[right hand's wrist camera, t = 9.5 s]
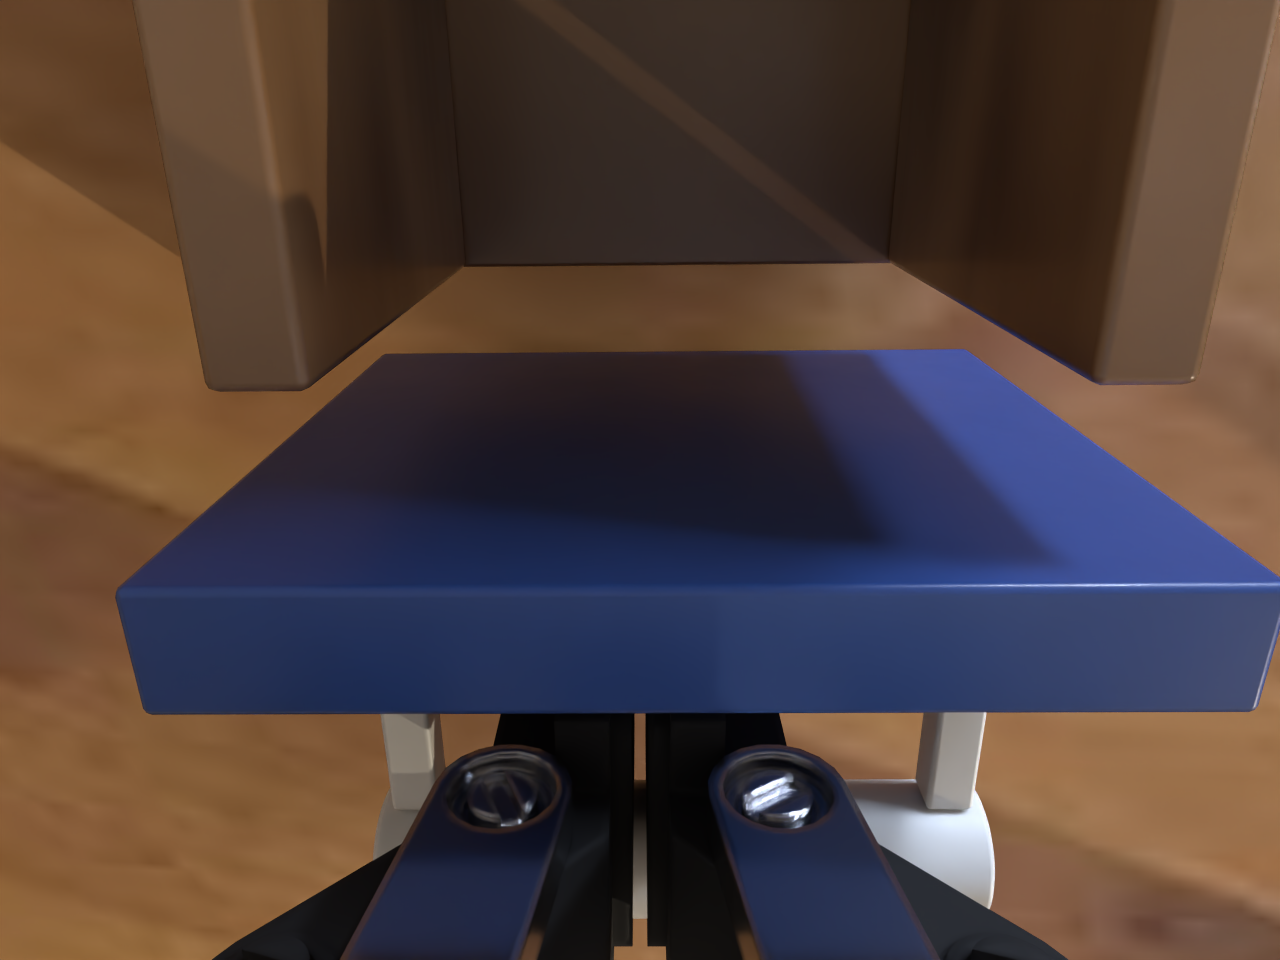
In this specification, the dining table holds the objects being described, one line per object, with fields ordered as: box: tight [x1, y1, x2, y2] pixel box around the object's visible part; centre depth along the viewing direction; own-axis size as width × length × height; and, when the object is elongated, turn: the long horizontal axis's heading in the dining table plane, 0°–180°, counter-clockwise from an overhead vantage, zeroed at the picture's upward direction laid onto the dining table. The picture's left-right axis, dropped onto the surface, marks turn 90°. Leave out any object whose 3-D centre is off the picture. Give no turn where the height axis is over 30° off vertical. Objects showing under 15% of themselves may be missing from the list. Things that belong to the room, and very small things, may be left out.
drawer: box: [116, 0, 1280, 919], centre depth 9 cm, size 21×9×8 cm, turn 1°
